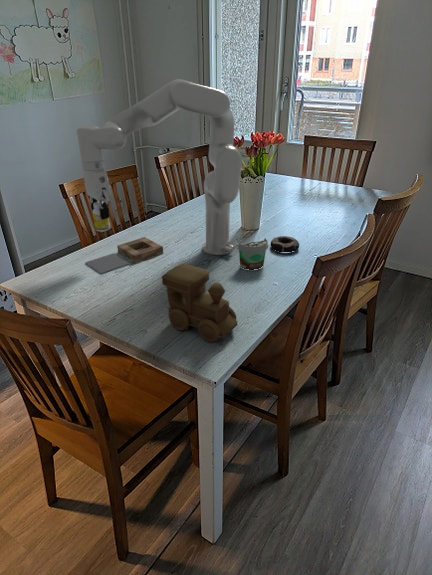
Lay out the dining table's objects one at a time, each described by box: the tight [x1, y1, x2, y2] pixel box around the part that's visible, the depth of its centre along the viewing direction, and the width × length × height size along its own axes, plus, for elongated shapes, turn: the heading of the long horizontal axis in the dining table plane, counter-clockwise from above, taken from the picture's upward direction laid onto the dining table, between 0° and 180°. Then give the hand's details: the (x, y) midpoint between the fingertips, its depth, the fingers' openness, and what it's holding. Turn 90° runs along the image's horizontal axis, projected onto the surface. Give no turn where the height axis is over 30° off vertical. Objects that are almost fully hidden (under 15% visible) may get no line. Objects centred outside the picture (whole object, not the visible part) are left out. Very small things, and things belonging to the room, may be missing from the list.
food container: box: [237, 238, 269, 270], centre depth 153 cm, size 12×6×10 cm, turn 117°
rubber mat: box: [85, 253, 130, 275], centre depth 158 cm, size 12×12×1 cm
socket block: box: [116, 237, 164, 264], centre depth 166 cm, size 13×13×3 cm
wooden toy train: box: [161, 263, 238, 343], centre depth 118 cm, size 20×11×17 cm, turn 57°
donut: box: [270, 235, 300, 253], centre depth 170 cm, size 12×12×4 cm
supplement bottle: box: [91, 201, 111, 232], centre depth 149 cm, size 5×5×10 cm
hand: (100, 215), depth 149 cm, fingers closed on supplement bottle, 5 cm apart
